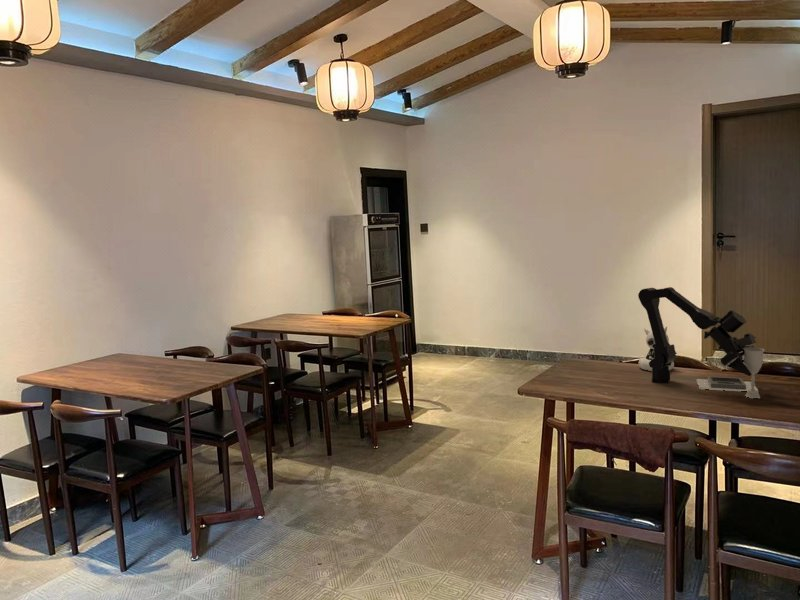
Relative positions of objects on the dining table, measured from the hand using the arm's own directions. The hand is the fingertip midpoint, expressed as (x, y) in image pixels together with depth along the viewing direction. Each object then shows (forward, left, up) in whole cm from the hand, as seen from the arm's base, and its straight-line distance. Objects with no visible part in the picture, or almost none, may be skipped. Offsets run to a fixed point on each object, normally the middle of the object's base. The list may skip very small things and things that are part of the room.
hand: (755, 373), depth 220 cm
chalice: (-1, 0, -9) cm, 9 cm away
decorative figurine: (-33, +40, -9) cm, 53 cm away
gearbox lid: (-8, +14, -9) cm, 19 cm away
